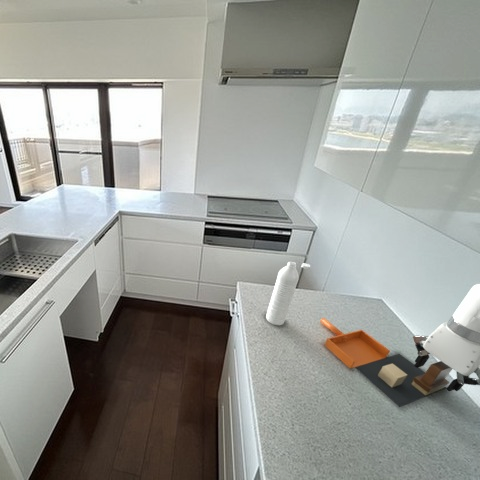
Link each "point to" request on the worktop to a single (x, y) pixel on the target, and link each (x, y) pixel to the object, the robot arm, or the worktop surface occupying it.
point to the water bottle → (283, 293)
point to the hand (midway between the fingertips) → (434, 376)
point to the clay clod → (392, 375)
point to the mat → (402, 392)
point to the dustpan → (354, 346)
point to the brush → (432, 378)
